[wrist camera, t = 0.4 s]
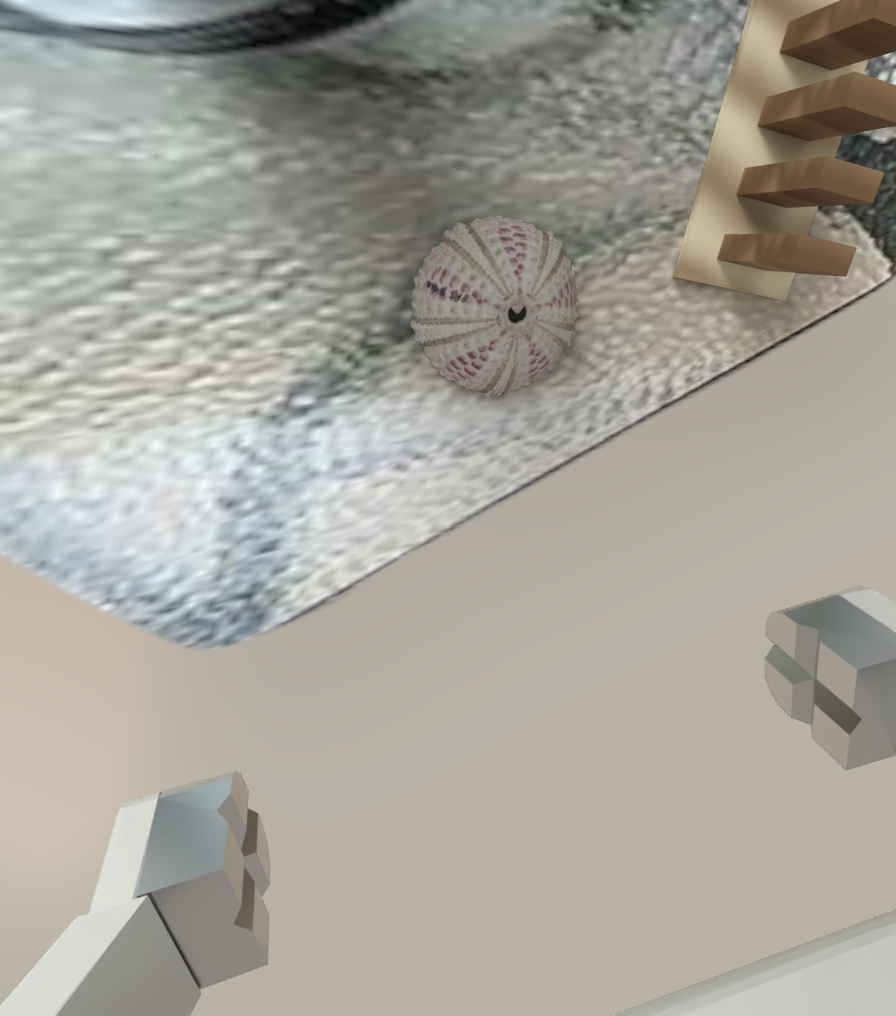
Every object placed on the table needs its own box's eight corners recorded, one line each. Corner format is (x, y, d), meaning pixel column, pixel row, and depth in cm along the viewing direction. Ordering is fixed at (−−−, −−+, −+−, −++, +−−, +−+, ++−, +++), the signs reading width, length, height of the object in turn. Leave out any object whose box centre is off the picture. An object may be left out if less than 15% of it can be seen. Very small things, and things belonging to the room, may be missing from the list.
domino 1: (788, 22, 50) (886, -20, 42) (841, 40, 51) (945, 4, 43) (779, 52, 51) (873, 17, 42) (831, 70, 52) (933, 39, 44)
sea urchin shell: (457, 417, 57) (482, 443, 49) (371, 273, 51) (385, 279, 44) (588, 332, 56) (633, 346, 49) (517, 178, 51) (556, 168, 43)
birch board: (785, -119, 47) (793, -125, 46) (905, -69, 50) (914, -74, 49) (672, 276, 56) (677, 277, 55) (779, 299, 59) (785, 300, 58)
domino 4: (724, 234, 55) (800, 233, 47) (774, 246, 56) (856, 247, 48) (716, 259, 56) (790, 263, 47) (766, 270, 57) (846, 276, 49)
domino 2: (765, 97, 52) (855, 71, 43) (817, 113, 53) (914, 91, 45) (757, 126, 52) (843, 105, 44) (808, 141, 54) (901, 124, 45)
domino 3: (744, 167, 53) (826, 155, 45) (795, 181, 55) (884, 172, 46) (736, 194, 54) (815, 187, 46) (786, 208, 55) (872, 203, 47)
